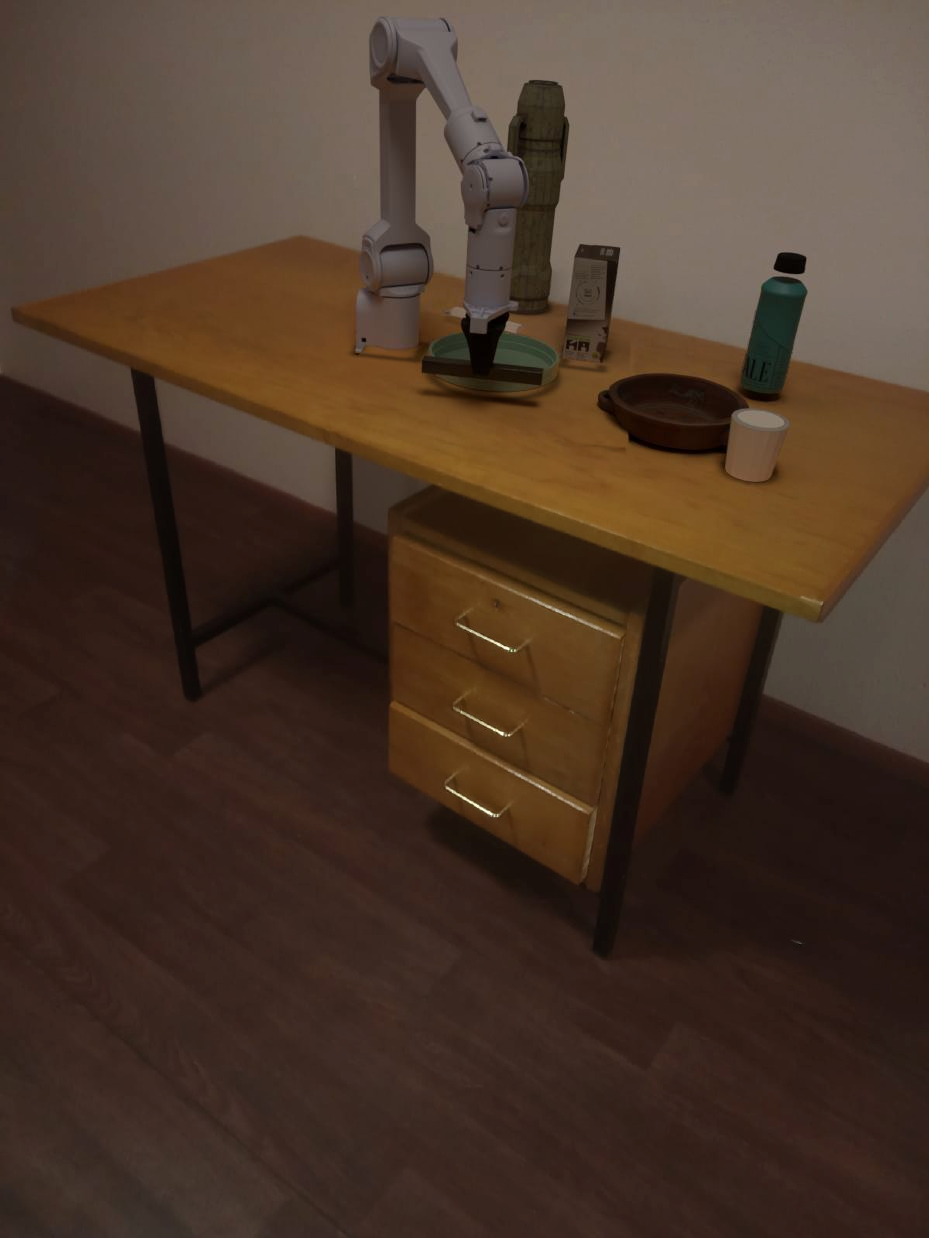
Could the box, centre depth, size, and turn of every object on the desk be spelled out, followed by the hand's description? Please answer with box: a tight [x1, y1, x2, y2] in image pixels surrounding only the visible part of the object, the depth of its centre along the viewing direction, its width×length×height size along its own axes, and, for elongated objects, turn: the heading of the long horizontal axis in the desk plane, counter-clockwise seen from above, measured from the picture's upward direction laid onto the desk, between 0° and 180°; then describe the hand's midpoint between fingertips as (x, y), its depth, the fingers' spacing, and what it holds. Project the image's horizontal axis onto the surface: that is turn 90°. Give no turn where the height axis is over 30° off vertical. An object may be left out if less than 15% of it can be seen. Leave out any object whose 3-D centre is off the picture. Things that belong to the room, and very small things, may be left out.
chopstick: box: [421, 355, 544, 386], centre depth 126 cm, size 2×16×2 cm, turn 81°
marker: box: [442, 306, 524, 334], centre depth 158 cm, size 3×2×16 cm
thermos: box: [506, 79, 570, 315], centre depth 159 cm, size 9×12×35 cm
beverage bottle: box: [740, 251, 809, 394], centre depth 134 cm, size 6×7×20 cm
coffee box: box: [561, 243, 621, 364], centre depth 144 cm, size 9×6×16 cm
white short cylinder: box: [724, 407, 791, 483], centre depth 116 cm, size 7×7×7 cm
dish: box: [597, 372, 750, 451], centre depth 125 cm, size 18×22×5 cm
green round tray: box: [427, 331, 560, 393], centre depth 139 cm, size 19×19×4 cm
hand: (481, 371), depth 126 cm, fingers closed on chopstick, 2 cm apart
